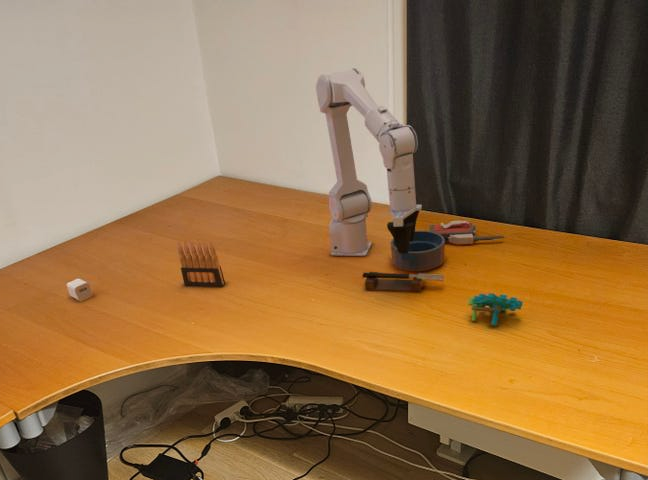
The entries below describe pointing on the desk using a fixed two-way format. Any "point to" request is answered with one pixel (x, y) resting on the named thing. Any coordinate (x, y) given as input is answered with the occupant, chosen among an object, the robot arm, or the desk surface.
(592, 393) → the desk surface
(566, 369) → the desk surface
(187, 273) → the ammunition clip
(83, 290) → the usb wall charger
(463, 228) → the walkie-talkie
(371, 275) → the fork
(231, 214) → the desk surface
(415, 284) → the cutlery rest
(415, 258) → the bowl
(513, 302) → the teal knobby toy
